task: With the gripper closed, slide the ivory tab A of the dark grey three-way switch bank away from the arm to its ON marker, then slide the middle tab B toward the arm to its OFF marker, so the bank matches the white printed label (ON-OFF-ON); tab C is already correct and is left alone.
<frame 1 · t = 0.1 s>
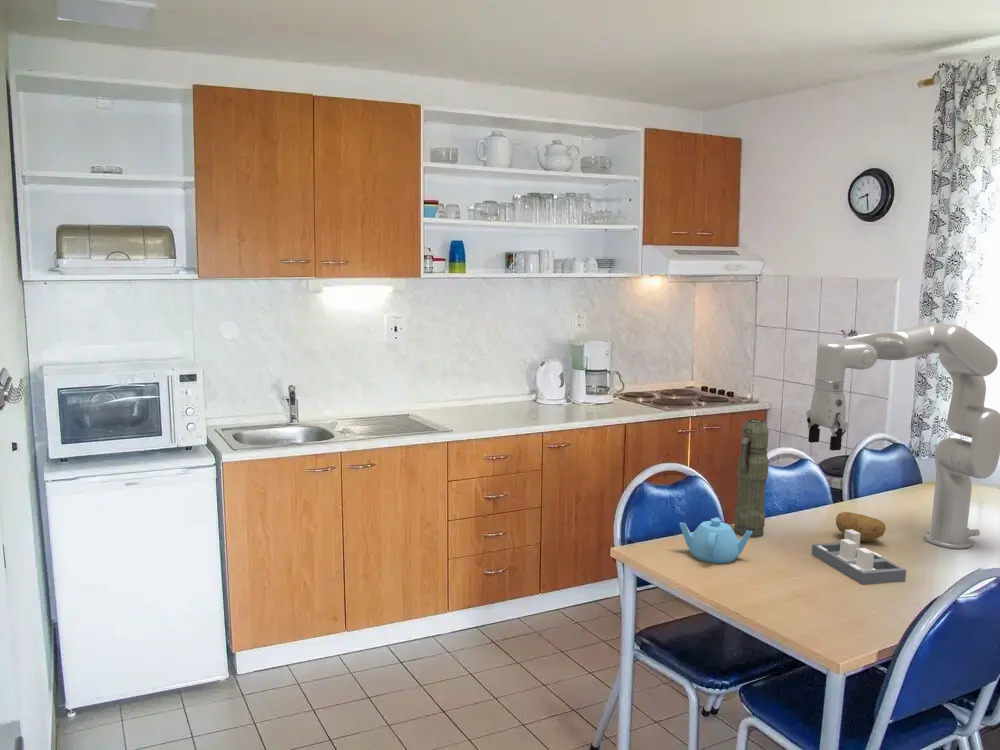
hand: (824, 446, 231), 31 cm above the table, fingers open, 9 cm apart
tab b: (847, 552, 222), point 4 cm above the table, slide at 6.4 cm
potato: (859, 541, 245), on the table
tab c: (864, 562, 215), point 4 cm above the table, slide at 6.4 cm
thermos: (748, 533, 250), on the table
tab a: (851, 542, 230), point 4 cm above the table, slide at 0.0 cm
teapot: (713, 556, 230), on the table
switch bank: (856, 567, 223), on the table
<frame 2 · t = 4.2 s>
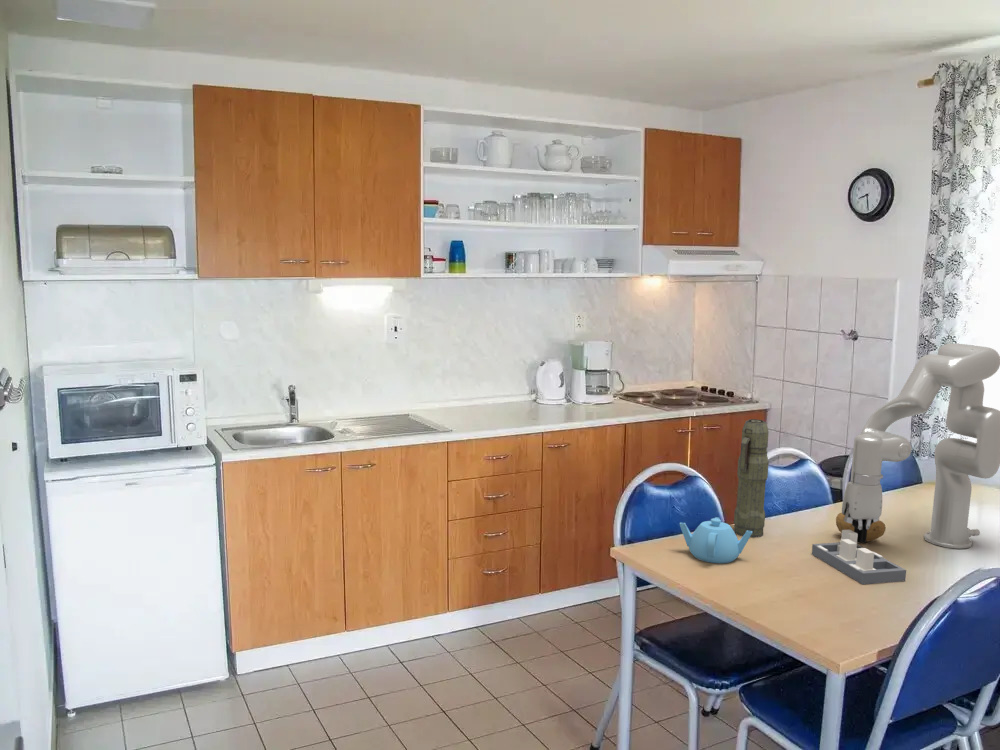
hand: (859, 541, 231), 4 cm above the table, fingers closed
tab a: (848, 542, 230), point 4 cm above the table, slide at 0.9 cm, touching gripper
everything else where it was.
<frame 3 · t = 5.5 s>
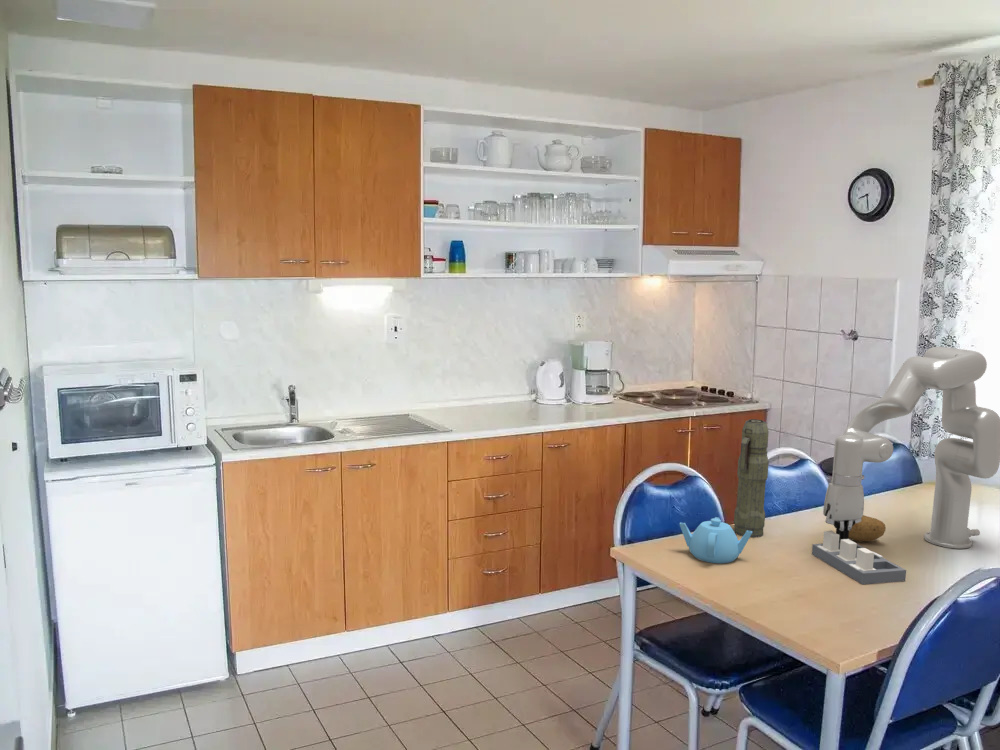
hand: (841, 542, 230), 4 cm above the table, fingers closed
tab a: (830, 544, 229), point 4 cm above the table, slide at 6.7 cm, touching gripper, switch bank
everything else where it was.
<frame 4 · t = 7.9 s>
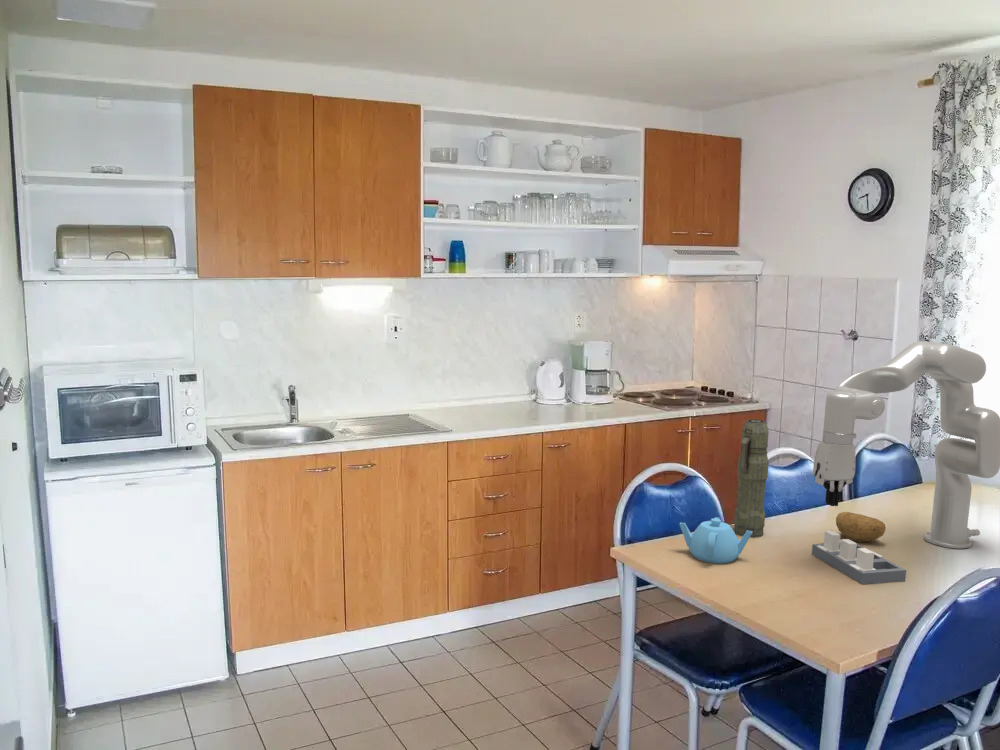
hand: (831, 504, 219), 18 cm above the table, fingers closed
tab a: (831, 544, 229), point 4 cm above the table, slide at 6.5 cm
everything else where it was.
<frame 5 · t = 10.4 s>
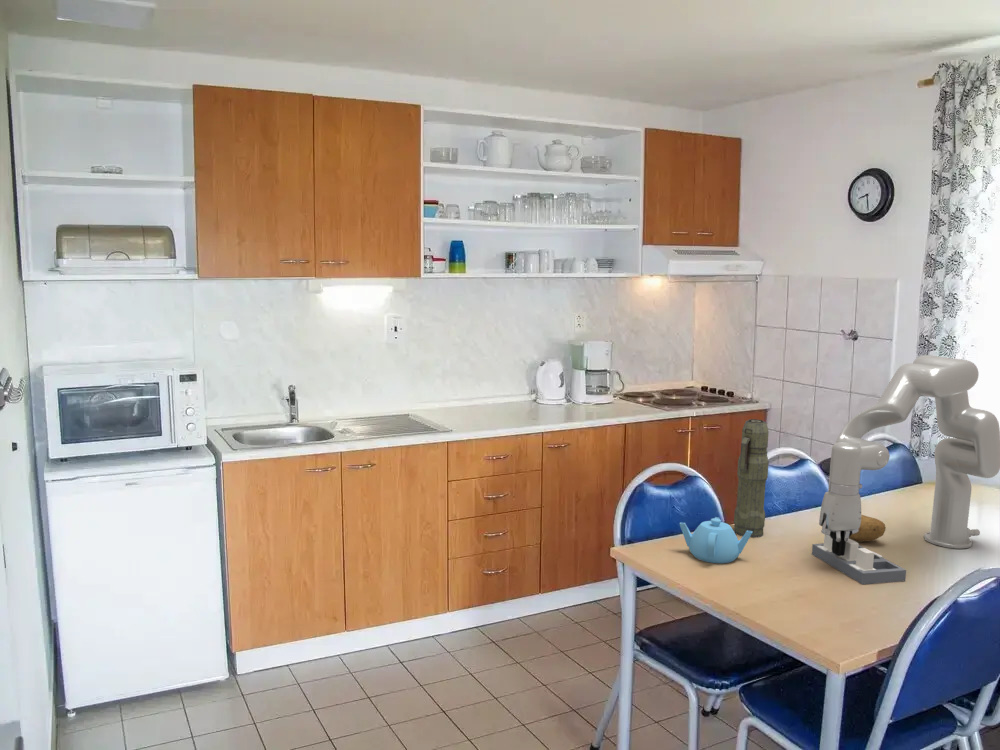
hand: (838, 553, 221), 4 cm above the table, fingers closed
tab b: (849, 552, 222), point 4 cm above the table, slide at 5.8 cm, touching gripper
everything else where it was.
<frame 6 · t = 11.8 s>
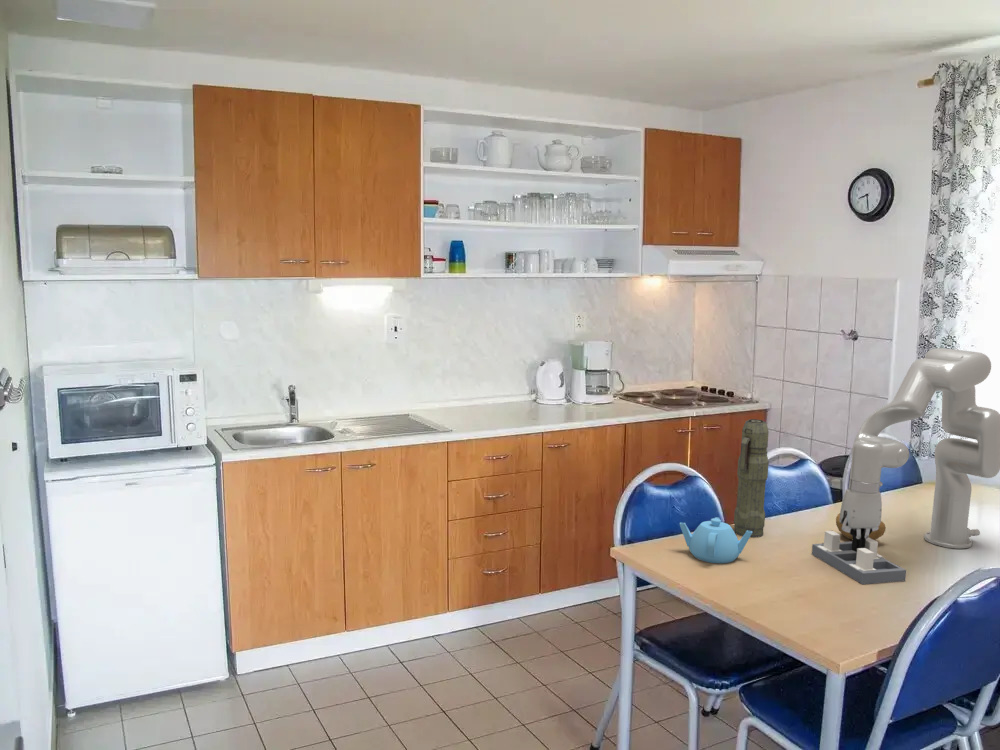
hand: (857, 551, 223), 5 cm above the table, fingers closed
tab b: (868, 551, 224), point 4 cm above the table, slide at -0.2 cm, touching gripper
everything else where it was.
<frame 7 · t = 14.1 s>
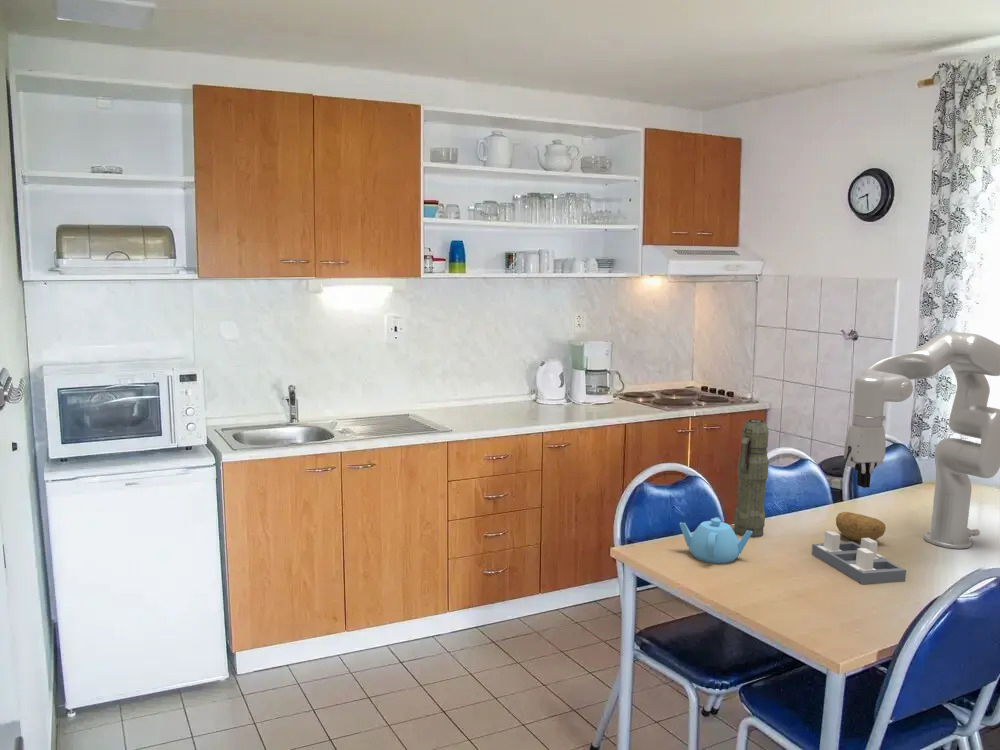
hand: (863, 486, 224), 22 cm above the table, fingers closed
tab b: (868, 551, 224), point 4 cm above the table, slide at -0.1 cm
everything else where it was.
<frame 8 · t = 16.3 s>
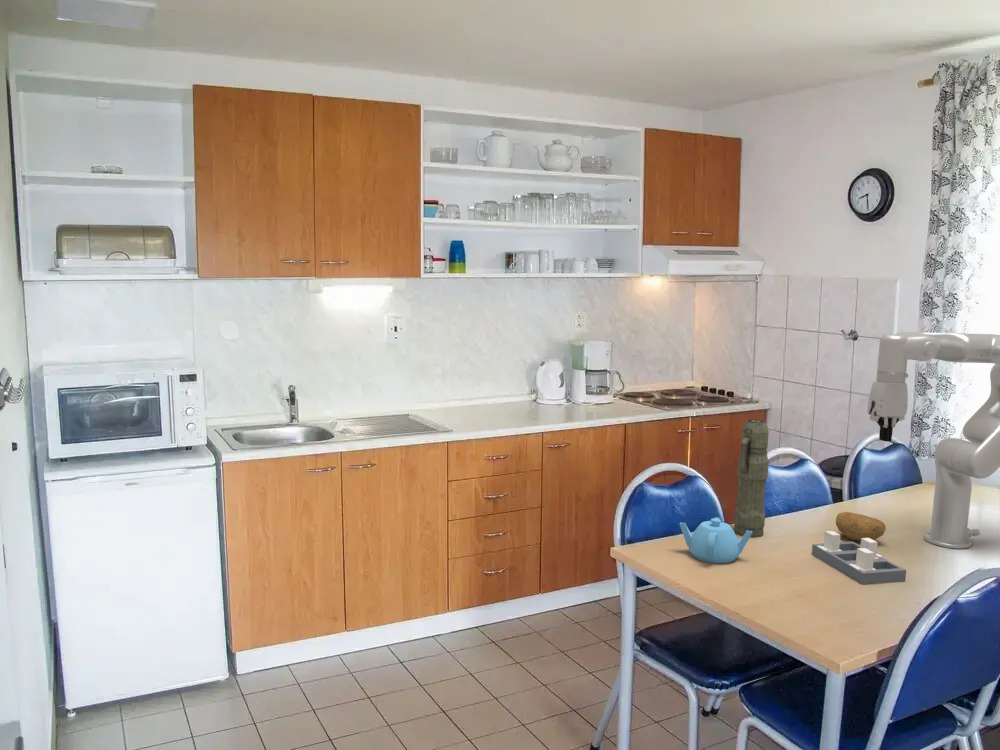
hand: (885, 440, 235), 32 cm above the table, fingers closed
nothing on the table moved.
at the end: tab a slide at 6.5 cm; tab b slide at -0.1 cm; tab c slide at 6.4 cm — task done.
